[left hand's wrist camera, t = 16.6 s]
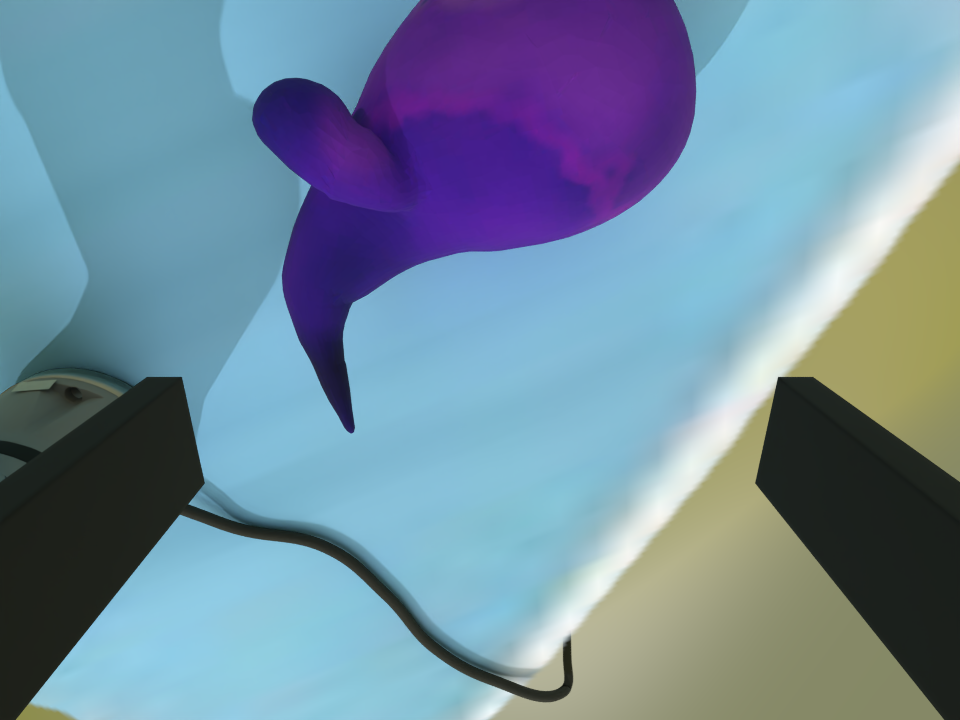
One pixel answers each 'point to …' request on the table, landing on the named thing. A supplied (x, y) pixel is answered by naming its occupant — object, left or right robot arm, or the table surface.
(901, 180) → the table surface
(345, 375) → the toy
